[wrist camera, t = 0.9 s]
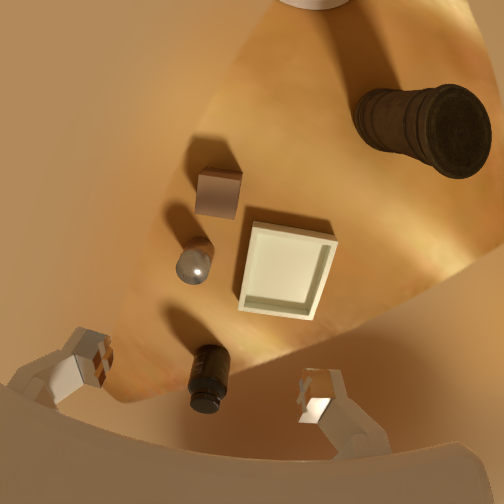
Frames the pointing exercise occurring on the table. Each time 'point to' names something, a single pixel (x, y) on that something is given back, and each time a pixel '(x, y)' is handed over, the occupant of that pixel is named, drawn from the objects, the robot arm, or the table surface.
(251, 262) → the tray
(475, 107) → the container
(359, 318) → the table surface
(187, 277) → the metal cylinder
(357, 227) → the table surface
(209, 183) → the walnut block
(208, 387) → the supplement bottle
